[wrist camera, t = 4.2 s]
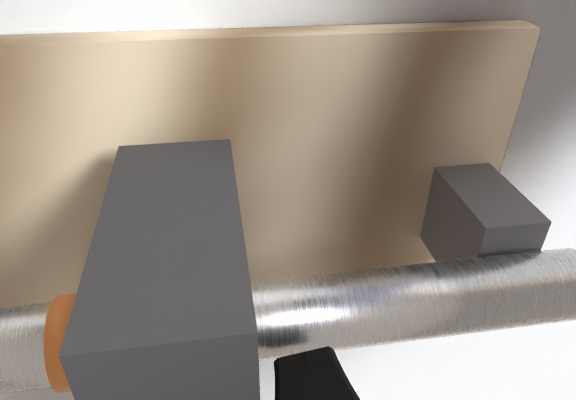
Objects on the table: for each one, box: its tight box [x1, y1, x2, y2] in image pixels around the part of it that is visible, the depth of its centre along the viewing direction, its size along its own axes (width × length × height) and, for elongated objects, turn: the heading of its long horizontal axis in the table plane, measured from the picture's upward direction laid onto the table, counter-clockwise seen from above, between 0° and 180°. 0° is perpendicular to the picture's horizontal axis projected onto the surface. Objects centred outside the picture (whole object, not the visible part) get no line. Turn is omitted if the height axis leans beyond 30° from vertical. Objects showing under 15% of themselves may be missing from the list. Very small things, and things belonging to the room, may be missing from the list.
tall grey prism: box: [58, 139, 260, 400], centre depth 12 cm, size 3×7×7 cm, turn 0°
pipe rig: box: [0, 20, 576, 393], centre depth 14 cm, size 20×12×7 cm, turn 90°
